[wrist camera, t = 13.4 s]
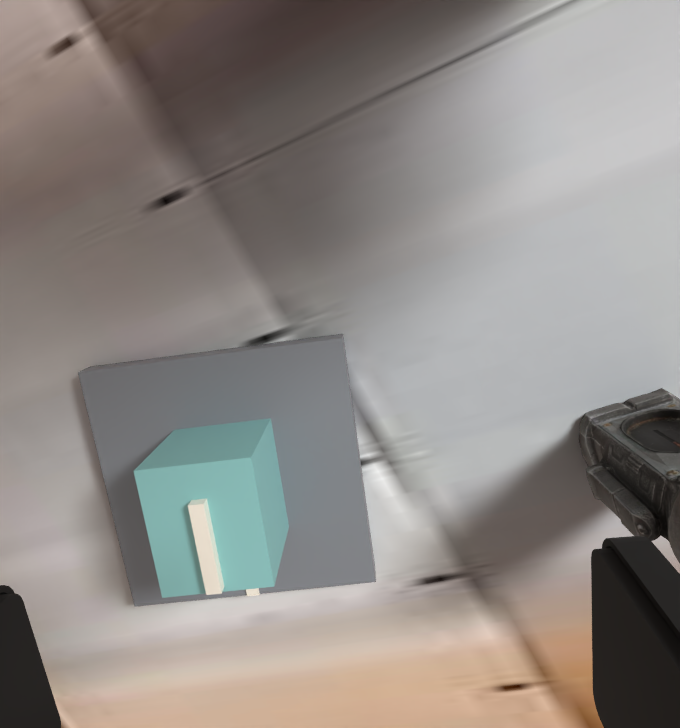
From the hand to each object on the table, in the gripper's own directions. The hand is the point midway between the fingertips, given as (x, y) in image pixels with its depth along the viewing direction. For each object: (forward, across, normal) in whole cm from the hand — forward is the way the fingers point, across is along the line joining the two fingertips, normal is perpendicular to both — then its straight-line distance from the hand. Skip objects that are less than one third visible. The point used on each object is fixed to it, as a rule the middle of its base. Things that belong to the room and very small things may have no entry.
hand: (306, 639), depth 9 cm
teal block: (+23, +8, +8) cm, 26 cm away
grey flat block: (+25, +9, +8) cm, 27 cm away
